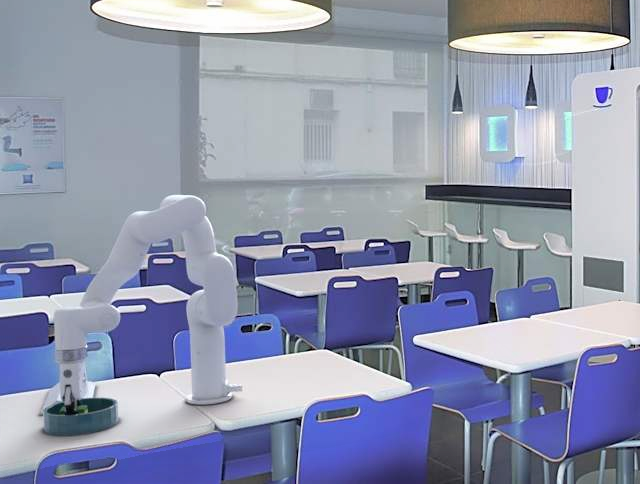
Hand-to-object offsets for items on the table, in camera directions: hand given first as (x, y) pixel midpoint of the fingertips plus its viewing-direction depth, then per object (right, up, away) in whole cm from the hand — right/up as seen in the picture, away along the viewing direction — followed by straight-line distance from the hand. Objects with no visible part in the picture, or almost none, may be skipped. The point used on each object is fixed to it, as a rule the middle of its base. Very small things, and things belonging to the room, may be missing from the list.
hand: (74, 424), depth 227 cm
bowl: (+1, -1, +2) cm, 2 cm away
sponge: (0, 0, 0) cm, 0 cm away
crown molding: (-14, 0, +28) cm, 32 cm away
